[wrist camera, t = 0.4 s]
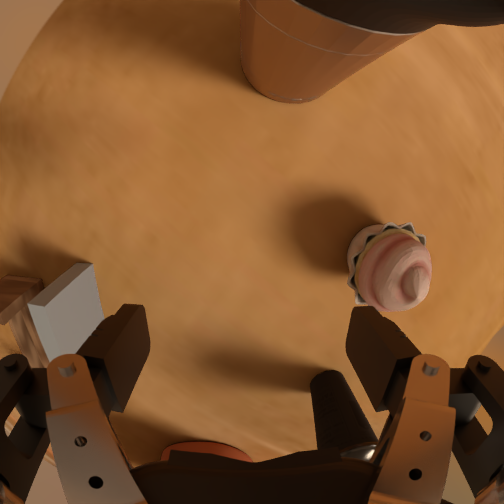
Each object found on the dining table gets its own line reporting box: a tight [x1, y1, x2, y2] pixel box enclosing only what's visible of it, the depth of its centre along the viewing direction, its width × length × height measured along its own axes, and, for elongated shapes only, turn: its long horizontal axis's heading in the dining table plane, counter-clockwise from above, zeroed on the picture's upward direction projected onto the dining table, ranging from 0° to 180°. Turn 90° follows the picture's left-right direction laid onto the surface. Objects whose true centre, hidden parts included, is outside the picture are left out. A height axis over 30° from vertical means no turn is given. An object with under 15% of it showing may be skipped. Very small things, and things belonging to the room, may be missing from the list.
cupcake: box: [347, 222, 432, 312], centre depth 24 cm, size 9×9×10 cm
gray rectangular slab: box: [27, 263, 104, 362], centre depth 25 cm, size 12×2×10 cm, turn 178°
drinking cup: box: [310, 370, 378, 462], centre depth 25 cm, size 8×8×20 cm
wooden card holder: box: [0, 275, 50, 368], centre depth 27 cm, size 19×8×9 cm, turn 178°
